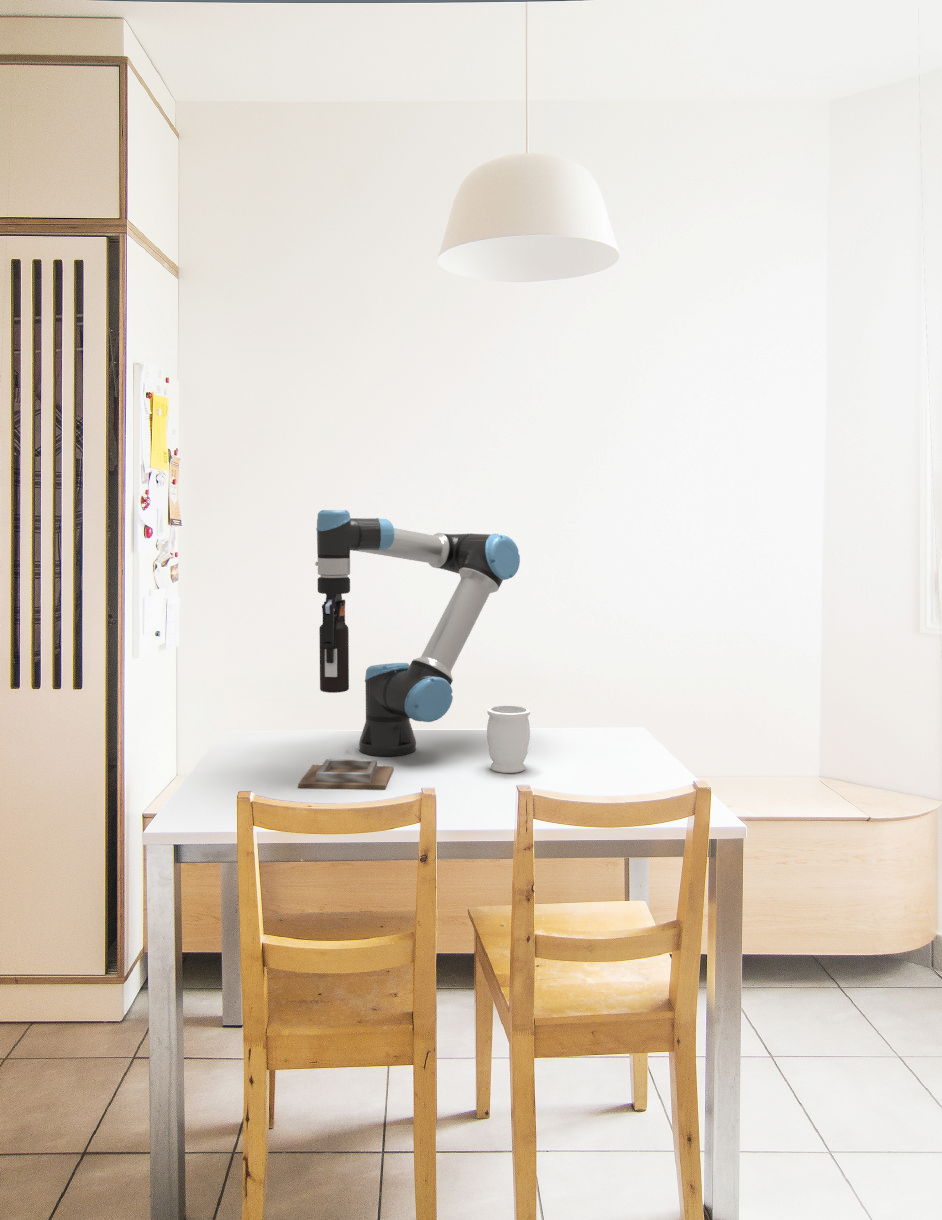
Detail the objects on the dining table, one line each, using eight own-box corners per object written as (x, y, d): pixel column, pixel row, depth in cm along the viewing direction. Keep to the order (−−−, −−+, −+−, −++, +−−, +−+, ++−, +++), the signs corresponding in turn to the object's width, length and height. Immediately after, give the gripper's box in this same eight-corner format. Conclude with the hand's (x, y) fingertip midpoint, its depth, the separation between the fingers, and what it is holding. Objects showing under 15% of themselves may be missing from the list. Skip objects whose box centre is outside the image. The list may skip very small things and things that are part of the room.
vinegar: (347, 693, 215) (346, 607, 213) (318, 693, 215) (317, 607, 212) (350, 687, 222) (349, 604, 219) (321, 687, 221) (321, 604, 219)
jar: (534, 766, 231) (535, 707, 230) (522, 776, 222) (523, 715, 220) (493, 761, 235) (494, 703, 233) (480, 772, 225) (481, 711, 224)
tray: (393, 770, 226) (393, 758, 226) (385, 789, 210) (385, 776, 210) (312, 768, 227) (312, 756, 227) (298, 787, 211) (298, 775, 211)
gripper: (327, 573, 225) (328, 667, 227) (307, 578, 206) (308, 680, 208) (358, 573, 224) (358, 667, 227) (340, 579, 205) (341, 681, 208)
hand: (334, 673), depth 218 cm, fingers closed on vinegar, 6 cm apart
